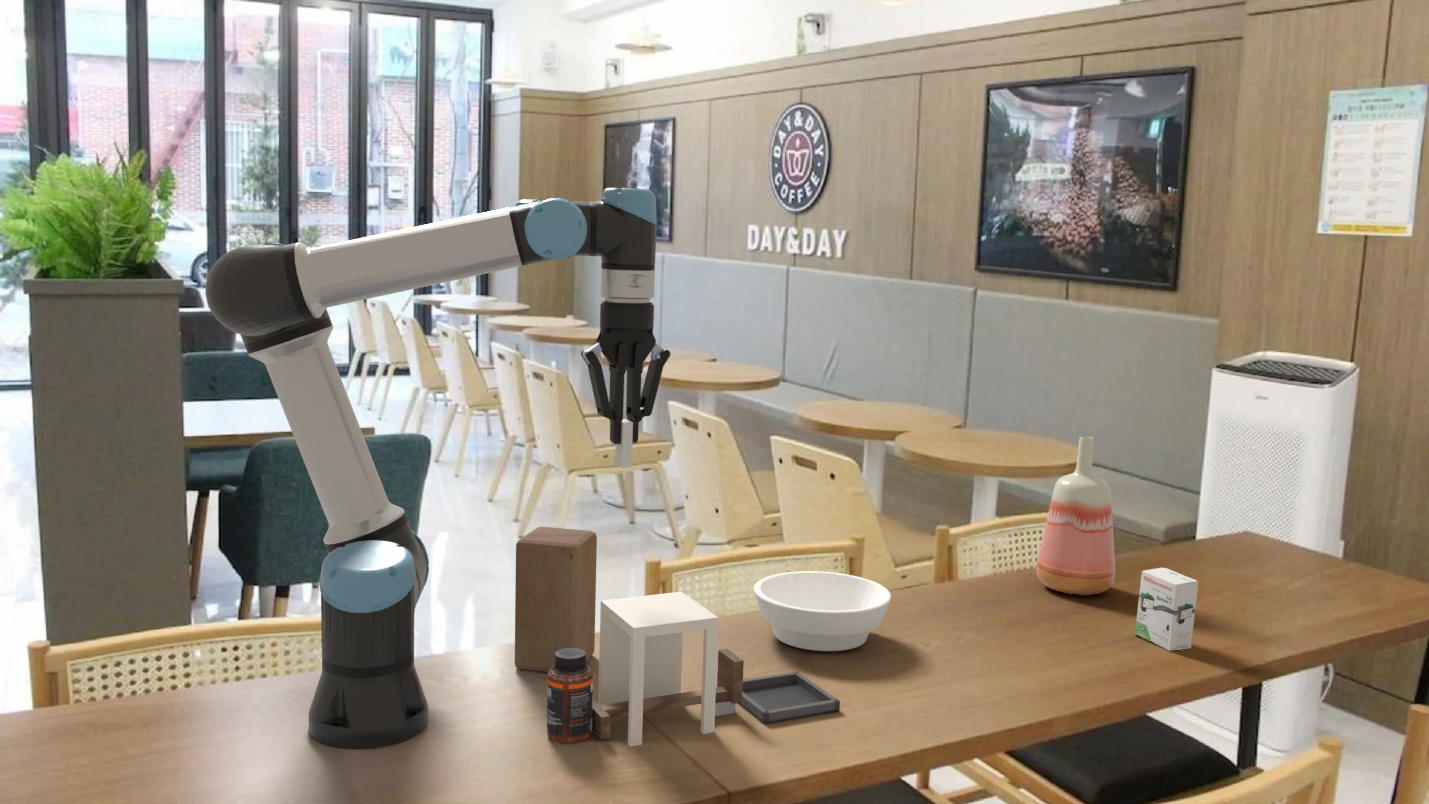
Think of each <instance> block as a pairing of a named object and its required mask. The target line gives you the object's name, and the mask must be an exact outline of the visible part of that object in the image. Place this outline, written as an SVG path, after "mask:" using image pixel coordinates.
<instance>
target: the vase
mask: <svg viewBox="0 0 1429 804" xmlns="http://www.w3.org/2000/svg"><path fill="white" fill-rule="evenodd" d="M1094 443H1095V438H1094V437H1093V436H1085V435H1084V436H1080V437H1079V440H1078V450H1077V458H1076V466H1075V470H1074V471H1073V472H1072V473H1068V474H1066V475H1063V476H1061V477H1059V478H1058V479H1057V481H1056V482H1055V485H1054V487H1053V491H1052V496H1051V501H1050V504H1049V509H1048V512H1047V517H1046V520H1045V525H1044V528H1043V529H1044V530H1043V534H1042V538H1041V543H1040V547H1039V550H1038V555H1037V560H1036V567H1035V568H1036V572H1035V573H1036V576H1037V578H1038V580H1039V581H1040V582H1041V583H1042V584H1043V585H1044V586H1046V587H1047V588H1048V589H1051V590H1053V591H1055V590H1056V591H1055V592H1058V591H1059V592H1058V593H1061V592H1063V593H1062V594H1066V593H1068V594H1067V595H1072V594H1078V595H1077V596H1093V595H1092V594H1095V595H1098V594H1102V593H1104V592H1106V591H1108V590H1109V589H1110V588H1111V587H1112V586H1113V584H1114V581H1115V578H1116V577H1115V575H1116V573H1115V572H1116V562H1115V561H1116V560H1115V544H1114V543H1115V542H1114V541H1115V539H1114V525H1113V524H1114V523H1113V520H1114V519H1113V504H1112V503H1113V502H1112V501H1113V500H1112V499H1113V498H1112V489H1111V486H1110V484H1109V483H1108V482H1107V481H1106V480H1105V479H1103V478H1101V477H1099V476H1097V475H1096V474H1095V473H1094V471H1093V461H1094V460H1093V459H1094V447H1095V446H1094V445H1095V444H1094Z"/></svg>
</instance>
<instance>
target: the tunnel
mask: <svg viewBox="0 0 1429 804" xmlns="http://www.w3.org/2000/svg"><path fill="white" fill-rule="evenodd" d="M599 616H600V618H599V621H600V622H599V625H600V626H599V659H598V660H599V662H598V664H599V665H598V666H599V667H598V668H599V669H598V702H597V703H598V704H599V705H605V704H612V703H619V702H625V701H629V715H628V725H627V745H628V746H629V747H630V748H631V747H637V746H642V745H643V719H644V718H643V717H644V715H643V714H644V713H643V699H645V698H651V697H658V696H664V695H671V694H677V693H682V667H683V666H682V664H683V663H682V662H683V636H684V635H683V633H686V632H687V633H688V632H694V631H702V630H703V645H702V646H703V649H702V650H703V651H702V674H701V675H702V677H701V678H702V680H701V681H702V682H701V690H702V702H701V704H700V705H701V707H700V708H701V709H700V733H701V734H702V735H706V734H713V733H715V717H720V716H725V715H726V716H727V715H731V714H736V703H735V704H732V703H731V702H730V701H729V700H722V701H716V702H715V697H716V688H717V671H718V642H719V641H718V640H719V639H718V637H719V616H717V615H715V614H714V613H713V612H712V611H710V610H708V609H707V608H706V607H704V606H702V604H700V603H698V602H697V601H695V600H694V599H693V598H691V597H689V596H688V595H687V594H686V593H684V592H682V591H676V592H667V593H658V594H657V593H655V594H649V595H647V594H646V595H639V596H631V597H623V598H621V597H619V598H614V599H611V598H610V599H604V600H600V615H599Z"/></svg>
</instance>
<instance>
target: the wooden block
mask: <svg viewBox="0 0 1429 804" xmlns="http://www.w3.org/2000/svg"><path fill="white" fill-rule="evenodd" d="M597 542H598V537H597V534H596V532H594V531H591V530H587V529H575V528H572V529H571V528H562V527H552V526H551V527H549V526H537V527H536V528H535V529H533V530H532V531H530V532H528V533H527V534H526V535H524V536H522V537H521V538H520V539H519V540H517V542H516V544H515V592H514V593H515V595H514V596H515V597H514V598H515V602H514V603H515V604H514V605H515V607H514V610H515V611H514V665H515V668H517V669H520V670H527V671H537V672H546V673H548V672H549V670H550V669H551V668H552V667H553V666H554V665H555V653H556V652H557V651H559V650H561V649H566V648H577V649H581V650H583V651H585V653H586V663H588V661H589V659H591V657H592V656H593V655H594V653H595V645H596V643H595V642H596V596H597V593H596V591H597V557H598V556H597V552H598V551H597V548H598V546H597V544H598V543H597Z"/></svg>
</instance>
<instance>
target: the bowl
mask: <svg viewBox="0 0 1429 804" xmlns="http://www.w3.org/2000/svg"><path fill="white" fill-rule="evenodd" d="M753 592H754V595H755V600H756V603H757V606H758V608H759V613H760V614H761V617H762V618H763V619H764V620H765V621H766V622H768V623H769V624H770V625H771V628H772V631H773V632H772V633H773V635H774V636H775V638H776V639H778V640H779V641H780V642H781V643H784V644H786V645H788V646H791V647H795V648H799V649H804V650H810V651H816V652H840V651H847V650H852V649H855V648H858V647H860V646H862V645H863V644H865V643H866V642H867V639H868V637H869V634H870V632H871V630H874V629H876V628H878V627H879V626H880V625H881V624H882V621H883V619H884V616H885V614H886V612H887V609H888V607H889V604H890V603H891V600H892V595H891V592H890V590H888V589H887V588H886V587H885V586H883V585H882V584H880V583H878V582H876V581H874V580H871V579H867V578H864V577H861V576H856V575H852V574H847V573H840V572H832V571H817V570H814V571H813V570H811V571H810V570H808V571H807V570H805V571H802V570H801V571H800V570H799V571H788V572H781V573H777V574H771V575H768V576H766V577H763V578H762V579H760V580H758V581H756V583H755V584H754V586H753Z"/></svg>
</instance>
